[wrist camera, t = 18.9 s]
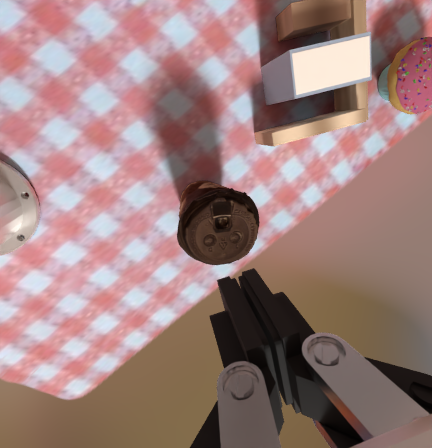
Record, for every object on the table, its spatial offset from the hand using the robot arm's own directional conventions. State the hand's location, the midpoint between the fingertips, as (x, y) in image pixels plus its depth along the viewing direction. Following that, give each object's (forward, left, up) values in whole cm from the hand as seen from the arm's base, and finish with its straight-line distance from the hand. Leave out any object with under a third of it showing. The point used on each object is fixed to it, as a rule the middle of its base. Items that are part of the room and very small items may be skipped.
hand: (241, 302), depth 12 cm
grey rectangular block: (+18, +9, -27) cm, 34 cm away
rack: (+17, +10, -27) cm, 33 cm away
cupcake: (+32, +6, -27) cm, 42 cm away
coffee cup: (+2, -3, -27) cm, 28 cm away
